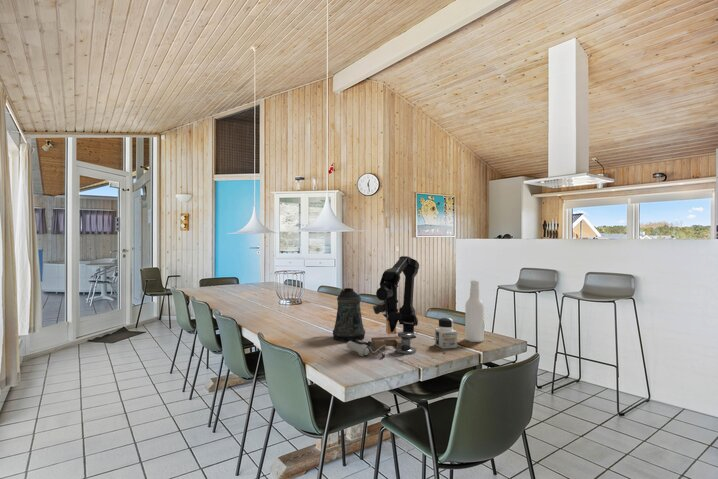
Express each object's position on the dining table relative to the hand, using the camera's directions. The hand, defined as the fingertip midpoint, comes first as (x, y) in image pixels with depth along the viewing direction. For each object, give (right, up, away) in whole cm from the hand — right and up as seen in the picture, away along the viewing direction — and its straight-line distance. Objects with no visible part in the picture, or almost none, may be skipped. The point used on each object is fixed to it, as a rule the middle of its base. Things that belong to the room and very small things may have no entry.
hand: (391, 330), depth 186 cm
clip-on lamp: (-11, -8, -13) cm, 18 cm away
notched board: (0, -7, +3) cm, 8 cm away
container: (+26, -8, +1) cm, 27 cm away
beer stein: (-21, -8, +17) cm, 28 cm away
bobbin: (+6, -7, -8) cm, 13 cm away
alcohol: (+43, -8, +12) cm, 45 cm away
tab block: (0, -1, 0) cm, 1 cm away
